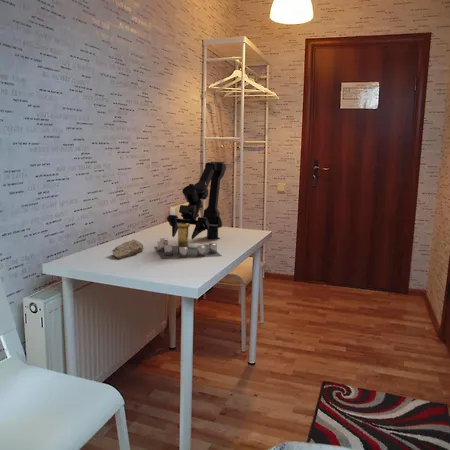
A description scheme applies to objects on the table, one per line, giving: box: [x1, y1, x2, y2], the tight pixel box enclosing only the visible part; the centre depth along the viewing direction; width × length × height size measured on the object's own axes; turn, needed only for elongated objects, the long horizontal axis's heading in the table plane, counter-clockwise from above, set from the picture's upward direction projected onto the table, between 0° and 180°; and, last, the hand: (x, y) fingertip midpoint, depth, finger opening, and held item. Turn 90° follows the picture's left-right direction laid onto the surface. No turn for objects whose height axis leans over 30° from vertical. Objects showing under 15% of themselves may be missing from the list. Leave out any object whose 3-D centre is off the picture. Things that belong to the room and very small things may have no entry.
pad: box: [188, 242, 205, 249], centre depth 207 cm, size 9×9×1 cm
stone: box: [111, 238, 144, 260], centre depth 192 cm, size 21×6×10 cm
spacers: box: [157, 237, 218, 259], centre depth 194 cm, size 16×28×4 cm, turn 70°
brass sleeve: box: [177, 222, 191, 253], centre depth 194 cm, size 5×5×13 cm
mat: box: [153, 243, 223, 260], centre depth 197 cm, size 24×26×1 cm
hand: (182, 237), depth 193 cm, fingers open, 9 cm apart
